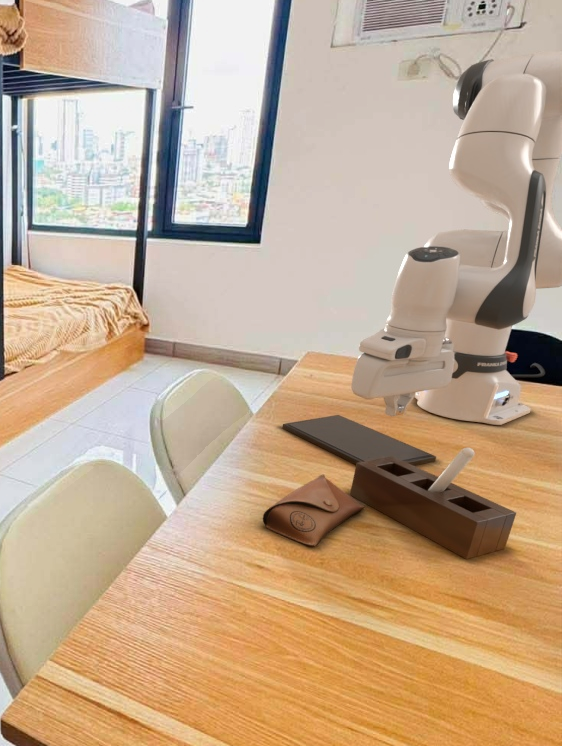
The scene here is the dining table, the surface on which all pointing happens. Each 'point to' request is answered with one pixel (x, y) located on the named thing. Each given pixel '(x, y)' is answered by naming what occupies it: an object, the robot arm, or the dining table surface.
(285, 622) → the dining table surface
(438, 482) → the stylus
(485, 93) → the robot arm
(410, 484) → the pen holder
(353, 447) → the tablet
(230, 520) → the dining table surface
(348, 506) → the sunglasses case
